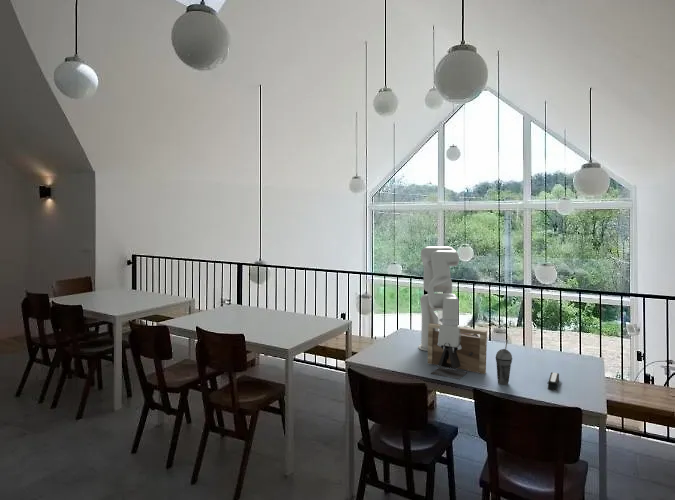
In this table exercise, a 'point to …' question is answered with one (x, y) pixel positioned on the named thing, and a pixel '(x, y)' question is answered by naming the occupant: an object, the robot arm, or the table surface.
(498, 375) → the beverage cup
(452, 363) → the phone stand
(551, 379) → the bus
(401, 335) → the table surface
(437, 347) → the model door
